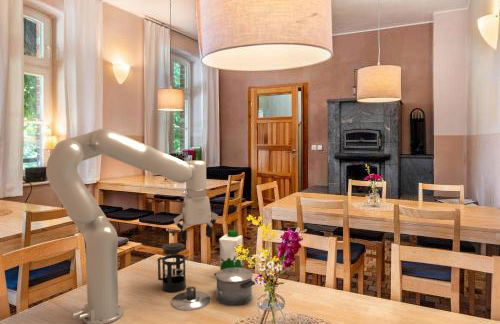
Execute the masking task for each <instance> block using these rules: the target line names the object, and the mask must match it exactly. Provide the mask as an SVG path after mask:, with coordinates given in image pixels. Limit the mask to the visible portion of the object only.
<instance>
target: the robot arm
mask: <svg viewBox="0 0 500 324" xmlns="http://www.w3.org/2000/svg"><path fill="white" fill-rule="evenodd" d="M100 155H102V156H103V155H104V156H106V157H109V158H110V159H114V160H116V161H119V162H121V163H123V164H126V165H128V166H131V167H134V168H137V169H139V170H142V171H148V172H150V173H154V174H156V175H159V176H161V177H164V178H166V179H168V180H169V181H172V182H176V183H179V184H184V183H185V190H184V191H182V196H185V197H184V198H183V202H182V203H183V204H182V213H180V214H179V215H177V216H176V217H174V218H173V221H174V224H175V225H176V227H177V228H178V229H180V239H182V241H183V242H187V240H188V237H187V235H188V233H187V228H188V227H189V226H196V225H197V226H198V225H206V226H205V236H206V237H207V238H210V239H211V237H212V234H213V233H212V232H213V231H212V230H213V229H212V227H213V226H214V224H215V223H216V221H217V219H218V217H219V215H218V214H217V213H216V212H213V211H212V209H211V203H210V202H211V201H210V197H209V196H207V162H205V161H204V160H201V159H200V160H198V159H197V160H187V161H186V160H185V161H184V160H182V159H179V158H177V157H175V156H174V155H173V156H172V155H170V154H167V153H165V152H163V151H160V150H158V149H156V148H155V147H152V146H150V145H148V144H146V143H142V142H141V141H138V140H136V139H133V138H131V137H129V136H128V135H127V136H126V135H124V134H122V133H119V132H117V131H115V130H113V129H111V128H110V129H109V128H99V129H96V130H93V131H90V132H87V133H85V134H80V135H78V136H73V137H70V138H67V139H63V140H60V141H59V142H57V143H56V145H55V146H54V147H53V150H52V151H51V153H50V155H49V157H48V159H47V161H46V166H45V167H46V168H45V171H46V179H47V180H48V183H49V186H50V188H51V189H52V191H53V192H54V194H55V195H56V198H57V199H58V200H59V202H60V204H61V205H62V206H63V208H64V209H65V212H66V214H67V216H68V218H69V219H70V220H72V223H74V224H75V227H76V228H77V229H78V231H79V232H80V234H81V235H82V236H83V239H84V241H85V270H86V271H85V272H86V273H85V274H86V296H87V298H86V301H87V303H85V304H84V306H83V308H81V309H80V310H77V311H73V312H71V318H72V319H73V320H74V319H77V318H78V319H79V320H82V321H83V322H84V323H85V324H109V323H113V322H114V321H117V320H118V319H120V318H121V317H122V316H123V315H124V308H123V306H122V305H120V304H119V276H118V273H119V272H118V249H119V247H118V246H119V237H118V232H117V230H116V227H114V225H113V224H112V223H111V222H110V221H109V219H108V218H107V216H106V215H105V213H104V211H103V210H102V208H101V207H100V205H99V204H98V201H97V199H96V198H95V197H94V195H92V194H91V192H90V191H89V189H88V188H87V185H85V183H84V181H83V179H82V177H81V176H80V174H79V170H78V169H79V165H80V164H81V163H82V162H83V161H86V160H89V159H92V158H95V157H98V156H100ZM180 220H181V222H182V223H180Z"/></svg>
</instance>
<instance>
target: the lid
mask: <svg viewBox="0 0 500 324" xmlns="http://www.w3.org/2000/svg"><path fill="white" fill-rule="evenodd" d="M185 290H186V291H185V292H179V293H178V294H176V295H174V296H173V297H172V299H171V303H170V304H171V306H172V307H173V308H174V309H176V310H178V311H196V310H201V309H203V308H205V307H207V306H208V305H210V304H211V300H212V299H211V296H210V295H209V294H208V293H206V292H204V291H198V290H197V288H196V286H188V287H186V288H185Z"/></svg>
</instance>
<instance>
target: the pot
mask: <svg viewBox="0 0 500 324" xmlns="http://www.w3.org/2000/svg"><path fill="white" fill-rule="evenodd" d="M213 273H214V277H215V278H216V300H217V303H219V304H221V305H224V306H228V307H237V306H243V305H246V304H248V303H250V302H251V300H252V297H253V292H252V291H253V287H252V286H255V285H256V281H254V280H252V279H253V272H252V271H251V270H249V269H247V268H244V267H242V268H226V269H222V270H218V271H216V272H213Z"/></svg>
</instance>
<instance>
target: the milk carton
mask: <svg viewBox="0 0 500 324" xmlns="http://www.w3.org/2000/svg"><path fill="white" fill-rule="evenodd" d="M218 241H219V255H220V256H219V257H220V258H219V259H220V261H219V269H220V270H222V269H226V268H243V259H242V260H237V259H236V257H237V256H238V255H240V254H238V255H236V254H235V249H234V247H237V246H238V245H239V244H241V245H242V246H243V235H241V234H240V235H239V234H238V230H235V229H230V230H227V233H226V234H224V235H222V236H221V237H220V238H219V239H218ZM220 270H219V271H220Z"/></svg>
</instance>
